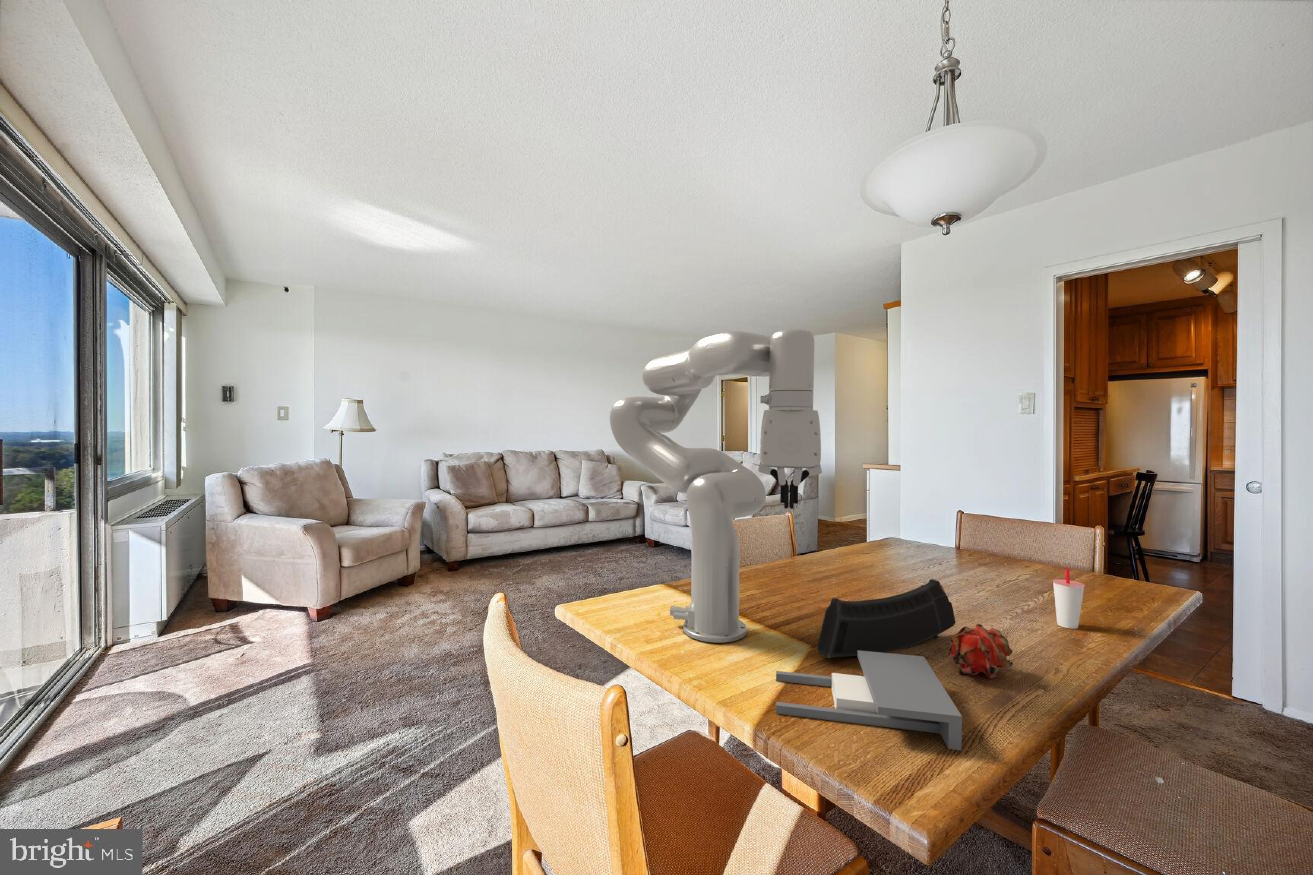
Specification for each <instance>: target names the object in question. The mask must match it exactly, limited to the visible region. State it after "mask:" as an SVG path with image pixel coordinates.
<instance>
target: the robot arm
mask: <svg viewBox="0 0 1313 875" xmlns="http://www.w3.org/2000/svg"><path fill="white" fill-rule="evenodd" d="M731 374H732V375H733V374H734V375H744V376H754V377H763V378H764V377H769V378H768V381H769V382H768V393H767V394H764V395H760V398H759V399H760V401H759V402H760V404H764V405H767V406H768V409H764V411H763V415H762V420H761V428H760V441H759V461H760V462H759V464H758V472H759V473H761V474H765V475H769V476H772V478H774V479H775V481H776V482H777V483H778V484H779V485H780V494H779V495H780V496H779V497H780V499H779V501H780V502H779V503H780V504H783V508H784V509H786V510H787V509H790V510H794V509H795V508H794V507H795V504H799V486H800V485H801V483H803V482H804V481H805V480H806V479H807V478H809V477H813V476H818V475H821V474H822V472H823V470H822V467H821V459H822V442H821V441H822V440H821V423H820V422H821V421H820V415H819V411H818V410H814V387H815V386H814V383H815V382H814V378H815V377H814V376H815V337H814V334H813V333H812V332H811V331H809V330H807V329H802V328H801V329H800V328H799V329H798V328H791V329H781V330H777V331H775V332H774V333H772V335H771V336H769V335H763V334H759V333H758V334H757V333H753V332H747V331H741V330H731V331H730V330H729V331H725V332H721V333H717V334H712V335H709V336H706V337H703V338H701V339H699V340H697V341H696V342H695V343H694V345H693V346H692V347H691V348H688V349H684V350H680V351H677V352H672V353H669V354H666V355H662V356H659V357H655V358H654V359H652V360H650V361H649V362H648V363H647V364H646V365H645V367H644V368H643V371H642V381H643V383H644V385H645V387H646V388H647V389H648V390H649V391H650V392H651V393H653V394H656V395H660V396H663V397H659V396H658V397H657V396H656V397H654V396H636V395H635V396H629V397H624V398H621V399H619V400H618V401H616V402H615V403H614V404H613V406H612V407H611V410H610V412H609V414H610V415H609V424H610V429H611V432H612V435H613V438H614V439H615V441H616V443H617V445H618V446H619V447H620V449H621V450H623V451H624V452H625V453H626V454H627V455H628V456H630V457H631V458H632V459H634V460H636V461H637V462H638V463H639V464H641V465H642V466H643V467H645V468H646V469H647V470H648V471H649V472H650V473H651V474H652V475H654V476H655V477H656V478H657V479H658V480H660V481H661V482H662V483H663V484H665V485H666V486H667V487H668V488H670V489H671V490H673V491H674V492H676V493H679V494H681V493H682V494H686V505H687V511H688V515H689V516H688V517H689V522H690V524H689V525H690V535H691V536H690V537H691V538H690V540H691V541H690V542H691V548H690V549H691V550H690V551H691V552H690V553H691V561H690V562H691V563H690V564H691V569H690V570H691V572H690V573H691V580H690V583H691V584H690V585H691V587H690V588H691V589H690V592H691V594H690V597H691V598H690V605H685V607H681V606H677V605H676V606H674V605H670V607H669V616H670V617H672V616H673V620H679V621H680V620H682V621H684V622H683V624H682V625H683V627H682V630H683V632H684V634H685V635H687V636H688V637H690V638H691V639H695V640H697V641H701V642H705V643H713V644H715V643H716V644H717V643H718V644H719V643H721V644H722V643H725V644H726V643H731V642H736V641H739V640H741V639H742V638H744V637H745V636H746V635H747V632H748V631H747V630H748V628H747V625H746V623H745V622H744V621H743V620H741V619H740V539H739V535H738V533H737V530H736V529H735V525H734V523H733V520H735V519H739V518H746V517H749V516H750V517H751V516H752V515H755V514H757V513H758V512H760V511H761V510H762V508H763V507H764V506H765V503H766V499H767V491H766V488H765V485H764V483H763V481H762V480H761V479H760V477H759V476H758V475H757V474H756V473H754V472H753V471H752V470H750V469H749V468H747V467H746V466H744V465H743V464H742V463H740V462H738V461H737V460H736V459H734V458H733V457H731V456H729V455H728V454H726V453H725V452H724V451H721V450H718V449H716V448H710V447H694V448H693V447H685V446H682V445H680V444H678V443H677V442H675V441H674V440H673V439H671V438H670V437H669V436H667V435H665V433H670V432H673V431H674V430H676V429H677V428H678V427H679V426H680V425H681V423H682V422H683V420H684V419H685V417H686V415H687V414H688V413H689V411H690V409H691V408H692V406H693V405H694V403H695V402H696V401H697V398H698V397H699V395H700V394H701V392H702V389H706V388H708V387H710V385H712V383H713V381H714V380H715V377H718V376H722V375H731ZM785 469H793V470H794V472H793V478H792V480H791V481H790V484H788V482H789V481H788V480H787V479H786V472H785Z"/></svg>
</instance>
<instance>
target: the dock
mask: <svg viewBox="0 0 1313 875" xmlns="http://www.w3.org/2000/svg"><path fill="white" fill-rule="evenodd" d="M857 659H858V661H859V664H860V668H861V671H862V673H863V676H865V679H866V682H867V685H868V688H869V691H870V693H871V696H872V699H873V702H874V705H875V708H876V710H877V713H878V714H877V713H868V712H860V711H851V710H842V709H835V707H834V708H832V707H825V706H815V705H807V704H806V705H805V704H798V703H790V702H781V701H775V707H776V708H775V714H776V715H783V716H792V717H793V716H794V717H802V718H807V719H808V718H809V719H810V718H811V719H816V720H826V721H827V720H828V721H833V722H842V723H848V724H849V723H850V724H859V725H866V726H867V725H868V726H875V727H884V728H892V729H898V730H900V729H901V730H909V731H916V732H926V733H932V734H933V733H935V734H940V737H941V738H942V740H943V742H944V743H945V745H946V747H947V749H948V750H955V751H962V740H963V738H962V735H963V731H962V730H963V729H962V728H963V715H962V714H961V712H960V711H959V709H958V707H957V706H956V704H955V703H954V702H953V700H952V698H951V697H950V695H949V694H948V692H947V690H946V689H945V688H944V686H943V685H942V682H941V681H940V680H939V678H938V677H937V675H936V673H935V672H934V670H933V668H932V667H931V666H930V664H929V662H928V661H927V659H926V658H925V656H921V655H920V656H919V655H913V654H912V655H911V654H910V655H909V654H901V653H900V654H899V653H892V652H887V653H880V652H870V651H859V650H858V656H857ZM775 681H776V682H784V683H793V684H802V685H811V686H819V687H828V688H829V687H830V688H832V675H831V676H829V675H820V674H809V673H801V672H800V673H799V672H791V671H782V670H775Z"/></svg>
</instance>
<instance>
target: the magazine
mask: <svg viewBox="0 0 1313 875" xmlns="http://www.w3.org/2000/svg"><path fill="white" fill-rule="evenodd" d="M953 608H954V607H953V603H952V602H951V601H950V600H949V597H948V595H947V593H946V591H945V589H944V586H943V585H942V584H941V582H940V581H939V580H937V579H933V578H931V579H929V580H928V582H927V583H925V584H922V585H920V586H919V587H916V588H914V589H911V590H909V591H905V592H903V593H900V594H896V595H892V596H887V597H882V598H875V599H874V598H872V599H865V600H851V601H850V600H841V599H839V598H836V597H834V598H831V599H830V603H829V605H828V607H827V608H826V609H825V612H824V617H823V620H822V624H821V625H822V626H821V628H820V634H819V637H818V642H817V646H816V652H817V653H818V654H820V655H821V656H823V657H824V658H828V659H831V658H837V657H838V658H841V657H858V650H859V651H870V652H880V653H892V652H895V651H901V650H904V649H907V648H910V647H913V646H916V645H918V644H921V643H923V642H924V641H927V640H930V639H931V638H934V639H937V640H939V635H940V634H942V633H944V632H946V631H947V630H949V629H950V628H953V627H954V626H955V624H956V618H955V617H956V616H955V612H954V609H953Z"/></svg>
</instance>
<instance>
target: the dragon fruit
mask: <svg viewBox="0 0 1313 875" xmlns="http://www.w3.org/2000/svg"><path fill="white" fill-rule="evenodd" d="M1013 653H1014V652H1013V649H1012V648H1011V646H1010V644H1009V640H1008V638H1007V637H1005V636H1004V635H1003V634H1002V633H1001V631H1000V630H999V629H996V628H993V627H991V628H989V629H986V628H984V626H983V624H980V623H976V624H975V627H973V628H971V627H968V626H963V627H962V628H960V629H959V631H957V633H955V635H953V636H952V637H951V639H950V646H949V648H948V655H950V658H951V660H952V661H953V663H954V664H955V665H958V666H959V667H960V668H959V670H958V671H957V672H958V673H959V674H960V675H961V674H965V675H968V676H977V674H980V673H984V675H985V676H986V678H988V679H989V680H990V679H991V680H992V679H993V678H995V677H998V676H999V671H1000V670H1001V669H1000V668H1003V669H1006V670H1007V669H1010V668H1012V667H1013V665H1014V663H1013V661H1011V659H1008V658H1007V657H1011V656H1012V654H1013Z"/></svg>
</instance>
